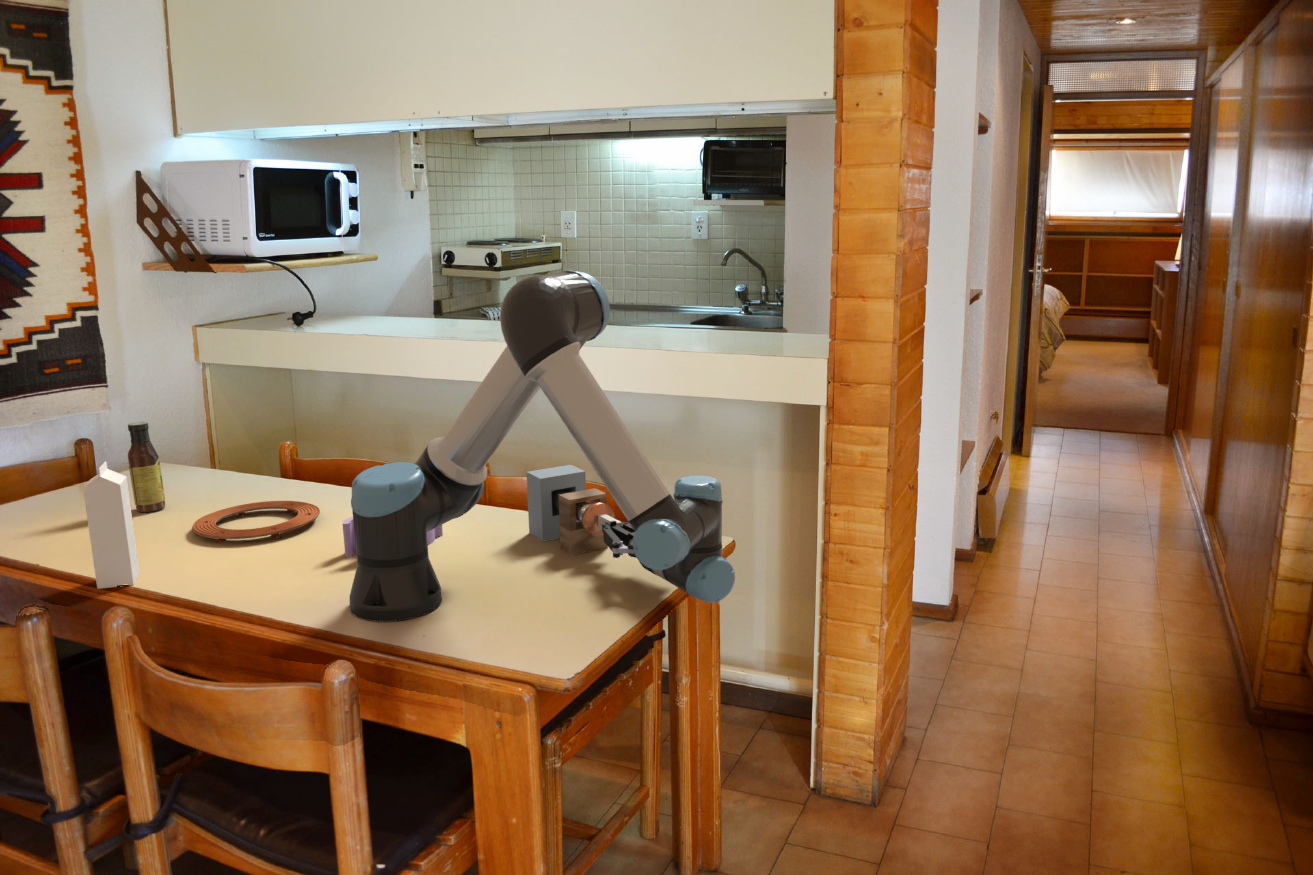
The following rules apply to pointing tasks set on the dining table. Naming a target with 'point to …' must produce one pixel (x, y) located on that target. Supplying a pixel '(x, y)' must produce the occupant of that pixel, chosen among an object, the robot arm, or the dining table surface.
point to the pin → (586, 513)
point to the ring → (211, 530)
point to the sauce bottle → (145, 470)
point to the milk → (111, 529)
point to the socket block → (550, 498)
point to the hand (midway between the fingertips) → (601, 520)
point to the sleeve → (572, 531)
